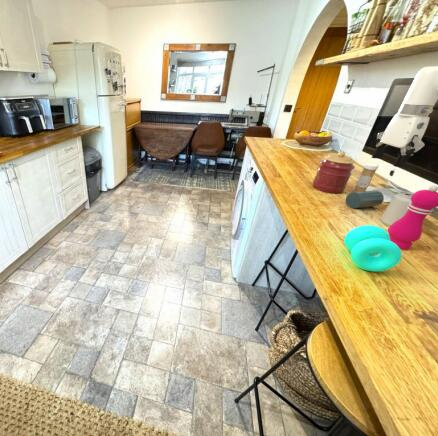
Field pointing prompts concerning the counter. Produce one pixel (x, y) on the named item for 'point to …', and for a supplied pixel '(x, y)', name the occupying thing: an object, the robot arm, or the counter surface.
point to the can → (397, 207)
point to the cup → (364, 199)
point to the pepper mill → (413, 218)
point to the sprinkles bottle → (365, 177)
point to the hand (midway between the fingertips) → (386, 162)
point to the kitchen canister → (334, 173)
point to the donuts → (372, 248)
